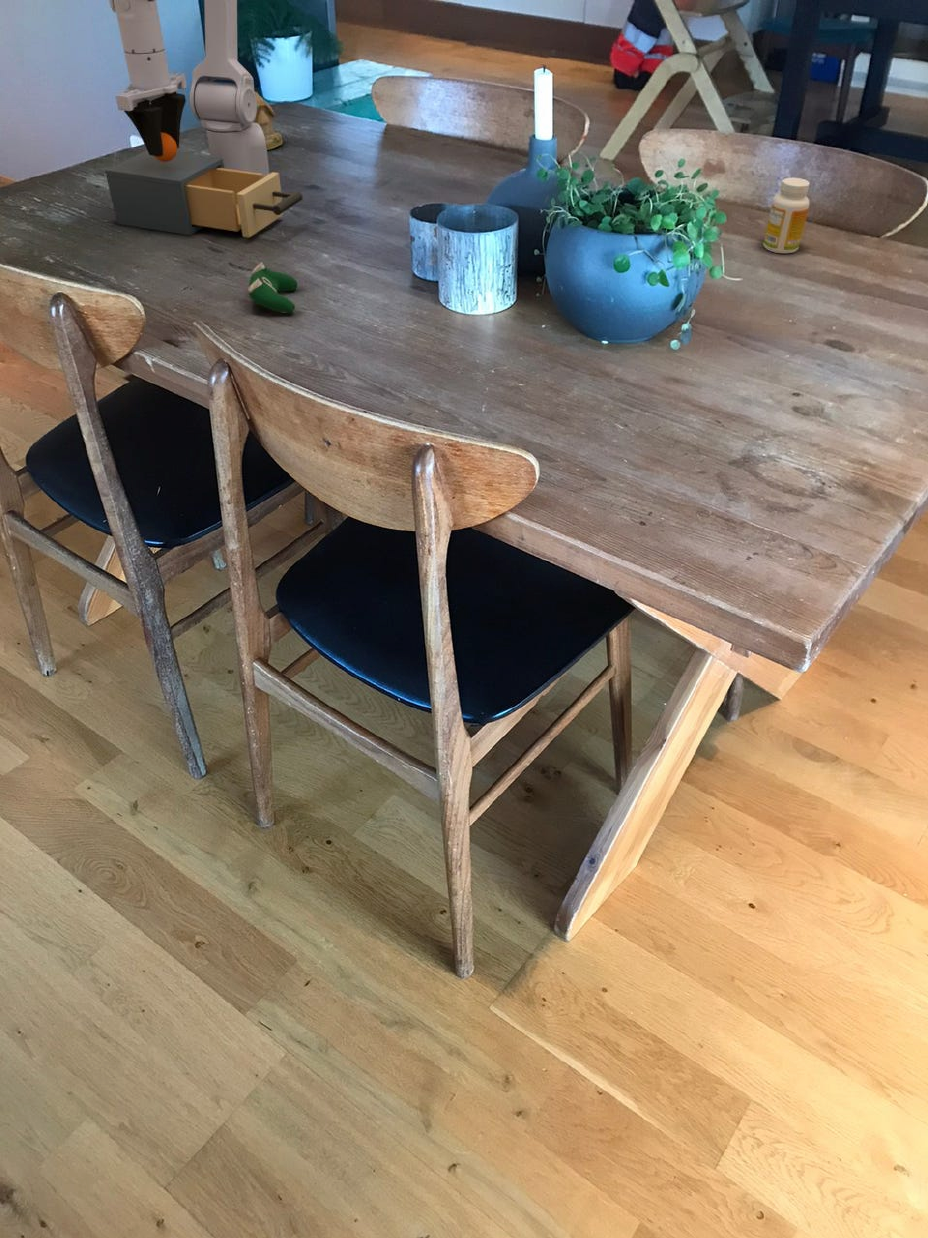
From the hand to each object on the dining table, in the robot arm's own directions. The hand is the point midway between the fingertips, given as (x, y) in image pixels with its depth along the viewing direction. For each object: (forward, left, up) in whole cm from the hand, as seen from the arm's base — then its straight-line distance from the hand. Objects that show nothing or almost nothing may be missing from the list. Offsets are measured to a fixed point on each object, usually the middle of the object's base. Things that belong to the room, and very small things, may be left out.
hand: (164, 151), depth 143 cm
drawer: (-9, +8, -9) cm, 15 cm away
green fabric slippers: (-3, +37, -11) cm, 38 cm away
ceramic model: (-26, -35, -11) cm, 45 cm away
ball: (0, 0, +1) cm, 1 cm away
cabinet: (0, -2, -10) cm, 11 cm away
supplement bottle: (-79, +55, -11) cm, 96 cm away
